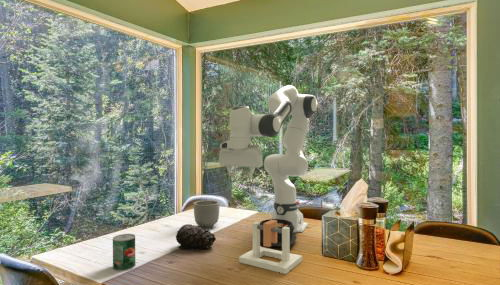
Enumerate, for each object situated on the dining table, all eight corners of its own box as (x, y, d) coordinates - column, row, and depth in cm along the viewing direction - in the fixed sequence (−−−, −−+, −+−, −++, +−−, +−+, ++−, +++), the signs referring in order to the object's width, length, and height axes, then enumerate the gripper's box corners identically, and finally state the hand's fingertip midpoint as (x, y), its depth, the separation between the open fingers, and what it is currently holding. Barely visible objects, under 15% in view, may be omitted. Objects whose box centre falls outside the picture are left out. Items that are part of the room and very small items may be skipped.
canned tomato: (134, 269, 114) (134, 239, 114) (111, 272, 112) (111, 241, 112) (136, 261, 122) (136, 233, 121) (114, 263, 119) (114, 234, 119)
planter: (224, 225, 170) (224, 201, 170) (208, 232, 159) (208, 206, 158) (205, 221, 178) (205, 199, 177) (188, 227, 166) (187, 203, 166)
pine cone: (214, 252, 131) (214, 228, 131) (172, 250, 133) (172, 227, 132) (219, 243, 141) (218, 221, 141) (180, 242, 143) (180, 220, 143)
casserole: (252, 233, 156) (252, 216, 156) (289, 232, 158) (288, 215, 158) (260, 251, 131) (260, 231, 131) (303, 249, 134) (303, 229, 133)
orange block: (271, 241, 124) (271, 219, 124) (277, 242, 122) (277, 220, 122) (263, 245, 118) (263, 223, 118) (269, 247, 117) (269, 224, 117)
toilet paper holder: (239, 262, 120) (238, 225, 120) (258, 250, 132) (257, 217, 132) (286, 274, 109) (285, 234, 109) (302, 260, 121) (302, 224, 121)
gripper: (265, 144, 128) (265, 178, 128) (225, 144, 139) (225, 175, 139) (257, 144, 123) (257, 179, 123) (216, 144, 134) (216, 176, 134)
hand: (240, 177), depth 131 cm, fingers open, 8 cm apart
